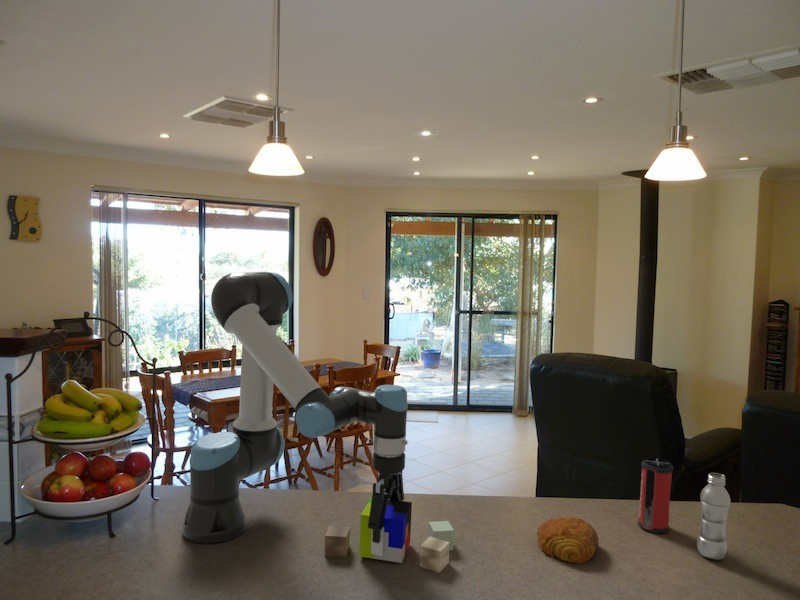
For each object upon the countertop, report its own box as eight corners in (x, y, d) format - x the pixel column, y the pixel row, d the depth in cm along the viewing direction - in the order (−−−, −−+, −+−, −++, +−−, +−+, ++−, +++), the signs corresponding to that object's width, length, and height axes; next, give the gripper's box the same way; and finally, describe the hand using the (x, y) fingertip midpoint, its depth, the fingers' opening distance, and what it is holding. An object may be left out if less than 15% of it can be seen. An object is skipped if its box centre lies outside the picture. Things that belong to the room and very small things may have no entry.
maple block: (419, 566, 132) (420, 545, 132) (429, 557, 137) (430, 536, 136) (439, 573, 130) (440, 551, 130) (448, 563, 134) (449, 542, 134)
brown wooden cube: (324, 556, 136) (325, 535, 135) (328, 545, 141) (329, 525, 140) (345, 557, 135) (346, 536, 135) (349, 547, 140) (349, 526, 140)
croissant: (600, 550, 147) (603, 518, 147) (592, 571, 133) (596, 536, 133) (542, 535, 153) (545, 504, 153) (529, 554, 139) (532, 520, 139)
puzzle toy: (401, 563, 132) (403, 520, 132) (359, 556, 135) (360, 514, 134) (410, 541, 142) (411, 502, 141) (370, 536, 144) (371, 497, 143)
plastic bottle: (723, 552, 143) (729, 472, 141) (728, 565, 136) (735, 482, 135) (694, 547, 145) (699, 468, 143) (698, 560, 139) (704, 478, 137)
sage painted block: (433, 551, 139) (433, 531, 139) (428, 541, 144) (428, 522, 144) (453, 550, 140) (454, 530, 140) (447, 540, 145) (448, 520, 145)
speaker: (670, 536, 150) (675, 468, 149) (638, 531, 153) (642, 464, 151) (667, 524, 157) (672, 459, 156) (637, 518, 160) (641, 454, 159)
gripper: (387, 471, 124) (383, 570, 126) (419, 440, 146) (415, 525, 148) (354, 466, 127) (351, 563, 129) (391, 435, 148) (387, 519, 150)
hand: (385, 543), depth 138 cm, fingers closed on puzzle toy, 10 cm apart
